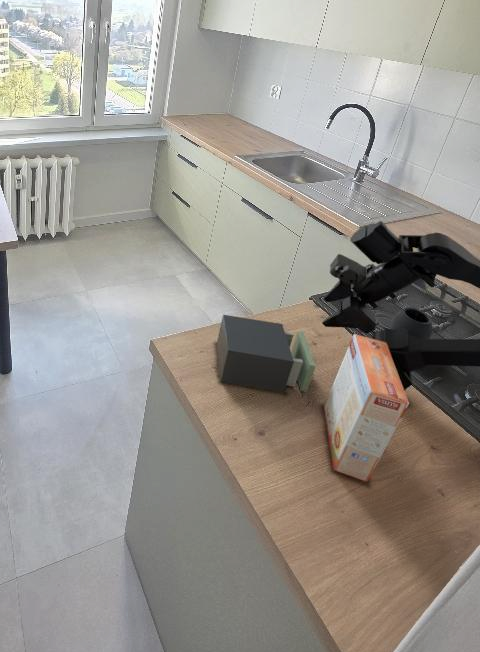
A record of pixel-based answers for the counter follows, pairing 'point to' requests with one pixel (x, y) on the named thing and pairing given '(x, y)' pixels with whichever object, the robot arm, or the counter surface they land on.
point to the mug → (413, 323)
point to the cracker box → (363, 407)
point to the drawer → (300, 361)
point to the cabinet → (253, 353)
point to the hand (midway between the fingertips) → (324, 312)
